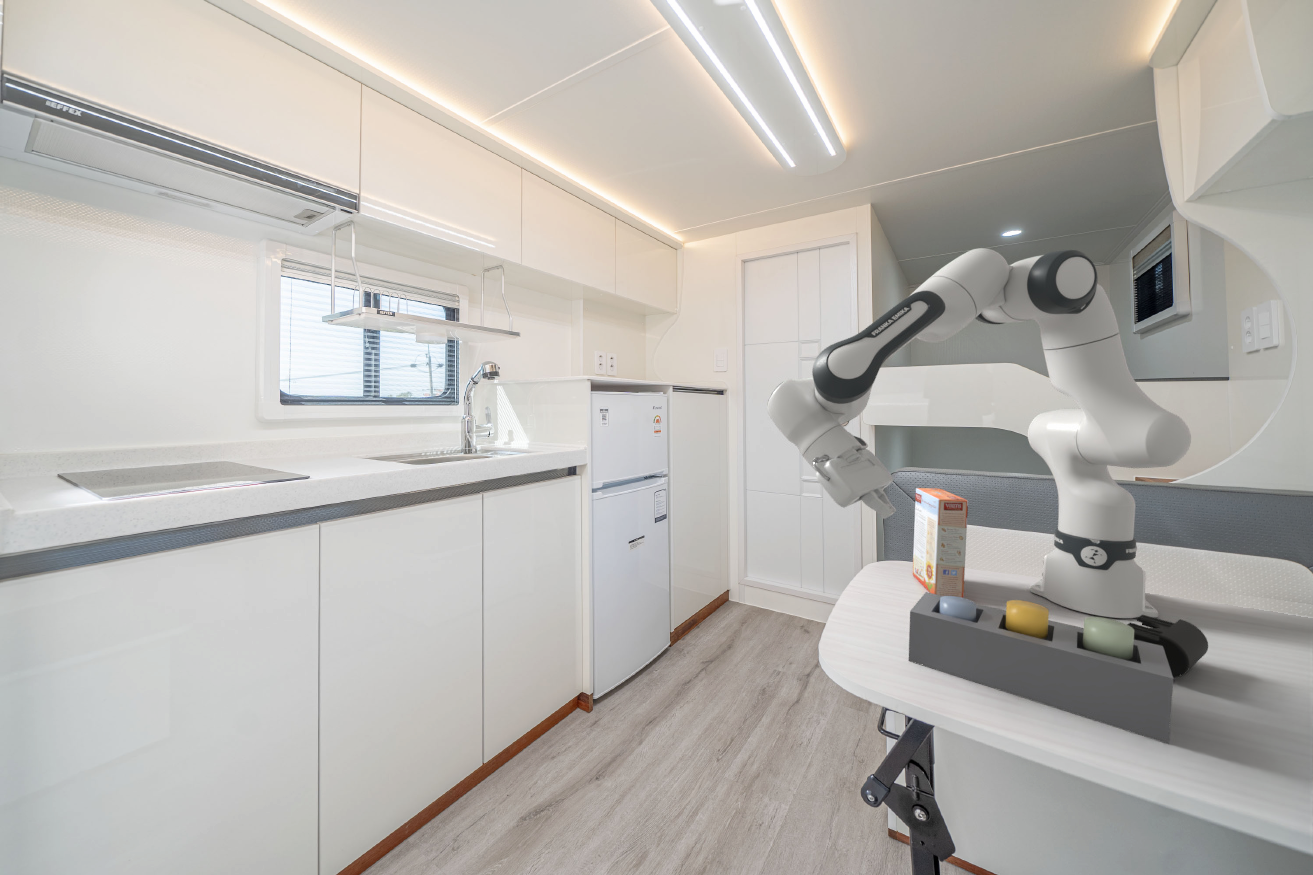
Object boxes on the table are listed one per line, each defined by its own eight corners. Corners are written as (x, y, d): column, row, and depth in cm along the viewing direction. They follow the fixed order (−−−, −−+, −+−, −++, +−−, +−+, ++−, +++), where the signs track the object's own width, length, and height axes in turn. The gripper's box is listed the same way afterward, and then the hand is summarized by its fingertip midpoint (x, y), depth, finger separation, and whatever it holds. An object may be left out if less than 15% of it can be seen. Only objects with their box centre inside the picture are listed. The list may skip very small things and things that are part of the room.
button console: (924, 637, 83) (925, 591, 82) (1158, 703, 64) (1162, 645, 63) (908, 660, 75) (910, 610, 75) (1168, 743, 57) (1173, 678, 56)
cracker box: (965, 601, 98) (969, 499, 96) (933, 598, 99) (936, 498, 97) (939, 576, 111) (943, 487, 110) (911, 575, 112) (914, 486, 111)
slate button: (942, 614, 78) (943, 593, 78) (977, 622, 75) (978, 601, 75) (936, 624, 75) (936, 602, 74) (972, 634, 71) (973, 611, 71)
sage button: (1082, 637, 67) (1084, 613, 67) (1131, 649, 64) (1132, 623, 63) (1082, 651, 63) (1084, 625, 63) (1134, 664, 60) (1135, 637, 60)
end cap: (1187, 690, 67) (1190, 643, 67) (1119, 666, 73) (1121, 623, 73) (1207, 670, 72) (1210, 626, 72) (1142, 649, 78) (1144, 609, 78)
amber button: (1007, 619, 72) (1008, 597, 72) (1048, 629, 69) (1049, 606, 69) (1003, 631, 69) (1004, 607, 69) (1046, 642, 66) (1047, 617, 65)
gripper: (822, 446, 77) (885, 515, 71) (865, 438, 92) (921, 494, 86) (796, 471, 80) (854, 539, 75) (842, 459, 96) (894, 515, 90)
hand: (890, 515), depth 81 cm, fingers closed
